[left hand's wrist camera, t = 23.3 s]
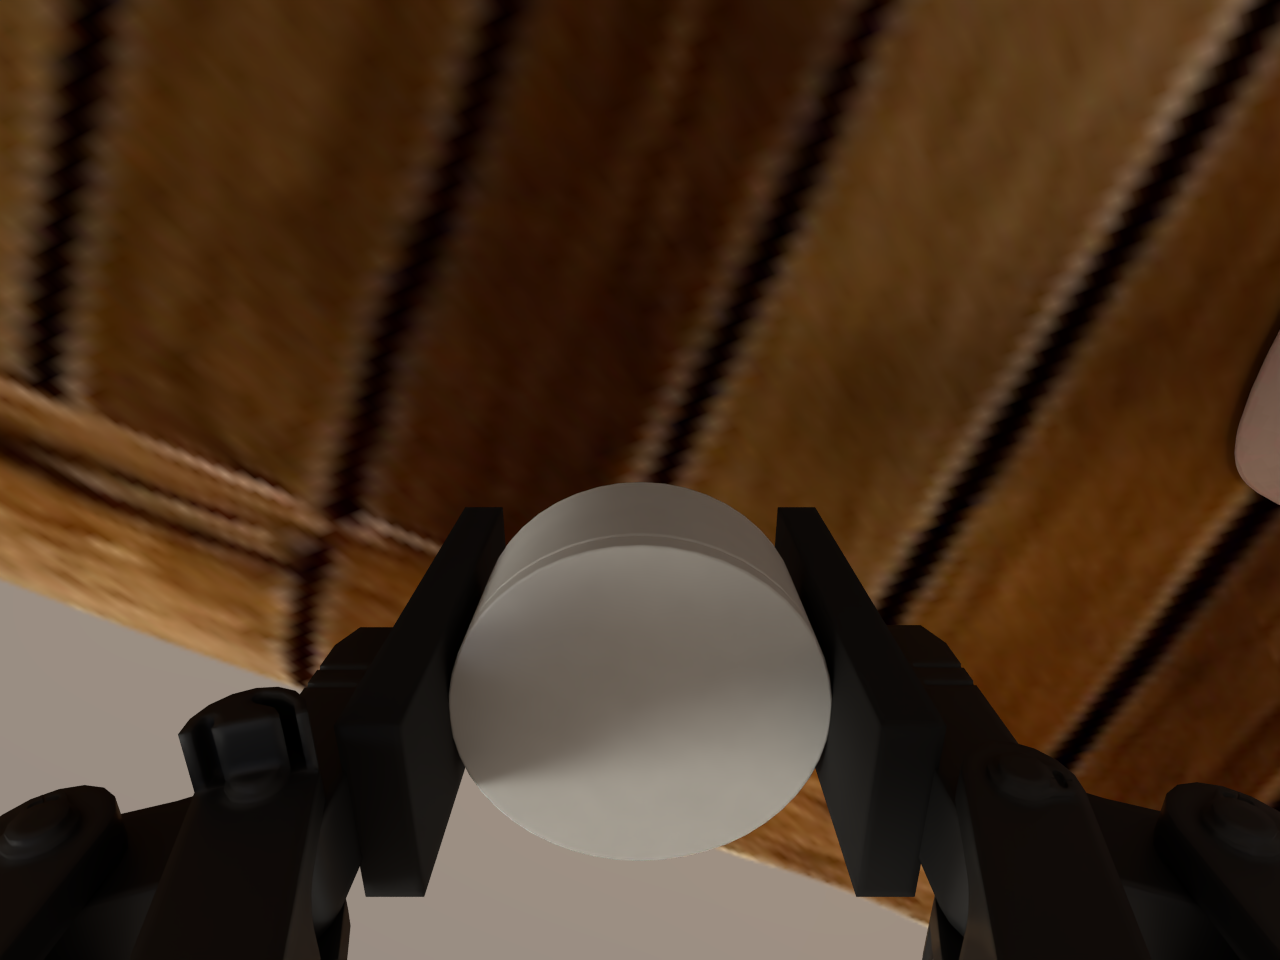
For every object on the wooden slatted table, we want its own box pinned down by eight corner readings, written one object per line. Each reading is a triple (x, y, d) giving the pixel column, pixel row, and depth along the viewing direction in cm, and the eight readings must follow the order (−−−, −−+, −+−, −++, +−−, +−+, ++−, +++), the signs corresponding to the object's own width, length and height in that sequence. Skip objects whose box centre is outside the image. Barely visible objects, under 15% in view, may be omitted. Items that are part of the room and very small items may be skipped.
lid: (783, 754, 14) (813, 863, 11) (493, 752, 14) (463, 860, 11) (812, 482, 12) (854, 547, 9) (471, 478, 12) (429, 544, 9)
